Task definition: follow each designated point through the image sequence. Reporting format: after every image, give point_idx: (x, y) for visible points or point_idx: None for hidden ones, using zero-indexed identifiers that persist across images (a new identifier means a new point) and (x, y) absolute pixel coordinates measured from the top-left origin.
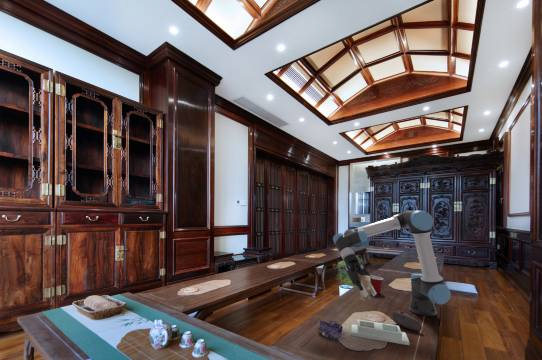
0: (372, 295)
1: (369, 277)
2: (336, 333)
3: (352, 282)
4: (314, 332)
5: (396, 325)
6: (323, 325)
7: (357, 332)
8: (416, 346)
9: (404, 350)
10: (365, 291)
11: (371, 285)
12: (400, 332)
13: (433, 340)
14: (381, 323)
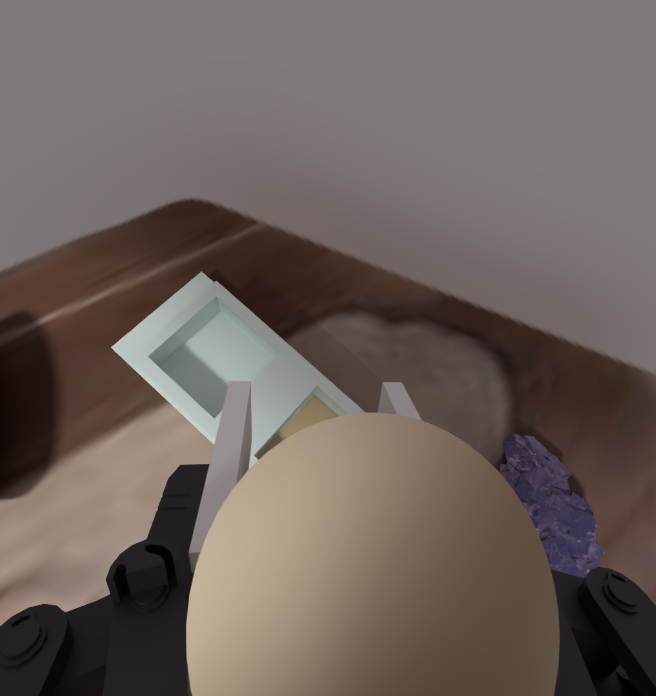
0: (250, 447)
1: (345, 417)
2: (537, 452)
3: (620, 685)
4: None
5: (138, 365)
6: (586, 555)
7: None
8: (180, 261)
9: (270, 262)
10: (415, 415)
11: (222, 479)
12: (210, 292)
13: (22, 262)
14: (210, 425)
